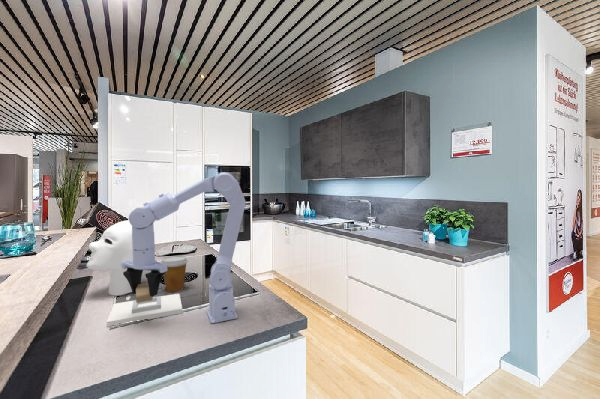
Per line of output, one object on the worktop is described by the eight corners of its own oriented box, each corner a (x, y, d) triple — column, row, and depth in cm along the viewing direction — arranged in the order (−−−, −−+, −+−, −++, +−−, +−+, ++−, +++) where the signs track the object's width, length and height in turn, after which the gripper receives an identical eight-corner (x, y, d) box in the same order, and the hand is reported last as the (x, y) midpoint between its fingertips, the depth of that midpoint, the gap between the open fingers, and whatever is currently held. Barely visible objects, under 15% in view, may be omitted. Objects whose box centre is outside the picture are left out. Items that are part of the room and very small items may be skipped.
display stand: (182, 313, 92) (182, 304, 91) (106, 327, 83) (106, 317, 83) (179, 297, 104) (179, 290, 104) (113, 308, 95) (113, 300, 95)
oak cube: (151, 300, 84) (151, 287, 84) (136, 302, 83) (135, 288, 83) (153, 295, 88) (153, 282, 88) (138, 297, 86) (138, 284, 86)
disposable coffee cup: (193, 286, 116) (192, 256, 115) (175, 294, 107) (175, 262, 106) (174, 283, 119) (173, 254, 118) (155, 291, 110) (154, 260, 109)
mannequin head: (137, 306, 107) (175, 236, 116) (69, 289, 93) (118, 210, 101) (124, 293, 119) (159, 231, 128) (62, 276, 105) (106, 207, 114)
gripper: (174, 247, 86) (175, 291, 87) (134, 244, 90) (136, 287, 91) (156, 252, 80) (158, 300, 80) (114, 249, 84) (116, 295, 84)
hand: (145, 294), depth 85 cm, fingers closed on oak cube, 6 cm apart
